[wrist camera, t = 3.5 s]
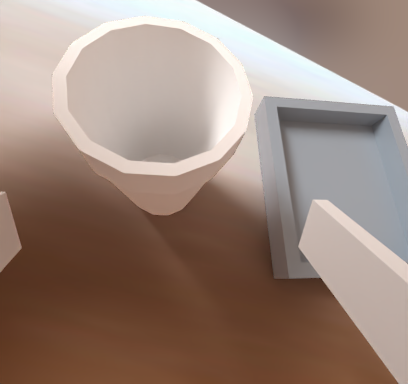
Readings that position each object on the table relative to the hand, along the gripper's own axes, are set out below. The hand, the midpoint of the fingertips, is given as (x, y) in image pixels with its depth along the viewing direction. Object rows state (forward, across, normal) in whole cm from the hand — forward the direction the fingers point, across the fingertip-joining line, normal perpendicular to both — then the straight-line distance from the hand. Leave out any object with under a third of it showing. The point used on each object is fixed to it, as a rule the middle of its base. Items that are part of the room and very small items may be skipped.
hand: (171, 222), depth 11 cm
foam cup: (+13, -1, -4) cm, 13 cm away
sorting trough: (+13, +17, -4) cm, 22 cm away
